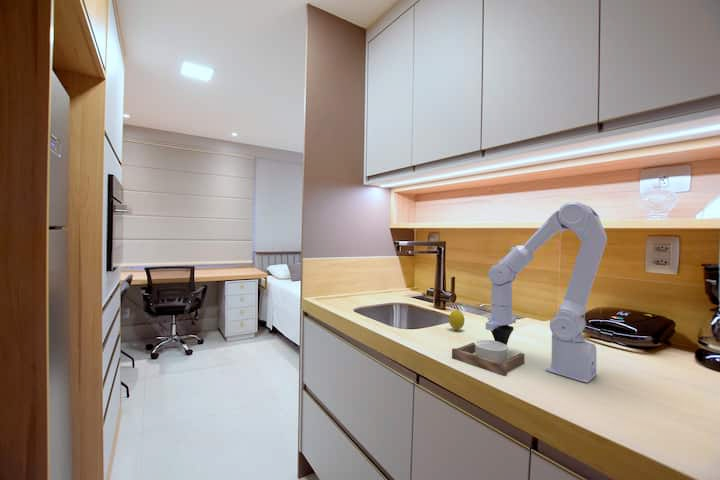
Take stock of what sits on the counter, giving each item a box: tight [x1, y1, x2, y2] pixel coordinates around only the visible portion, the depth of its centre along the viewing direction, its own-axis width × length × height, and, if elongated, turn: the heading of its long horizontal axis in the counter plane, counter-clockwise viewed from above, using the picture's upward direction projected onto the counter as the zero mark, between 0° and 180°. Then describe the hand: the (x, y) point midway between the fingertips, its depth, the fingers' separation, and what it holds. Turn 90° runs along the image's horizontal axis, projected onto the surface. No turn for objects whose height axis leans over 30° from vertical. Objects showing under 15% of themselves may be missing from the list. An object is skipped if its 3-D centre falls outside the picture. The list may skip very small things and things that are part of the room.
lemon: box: [448, 309, 465, 331], centre depth 120 cm, size 6×6×8 cm
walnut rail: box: [451, 341, 525, 377], centre depth 91 cm, size 16×13×2 cm
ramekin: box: [474, 339, 508, 363], centre depth 92 cm, size 9×9×4 cm
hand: (501, 350), depth 95 cm, fingers closed
